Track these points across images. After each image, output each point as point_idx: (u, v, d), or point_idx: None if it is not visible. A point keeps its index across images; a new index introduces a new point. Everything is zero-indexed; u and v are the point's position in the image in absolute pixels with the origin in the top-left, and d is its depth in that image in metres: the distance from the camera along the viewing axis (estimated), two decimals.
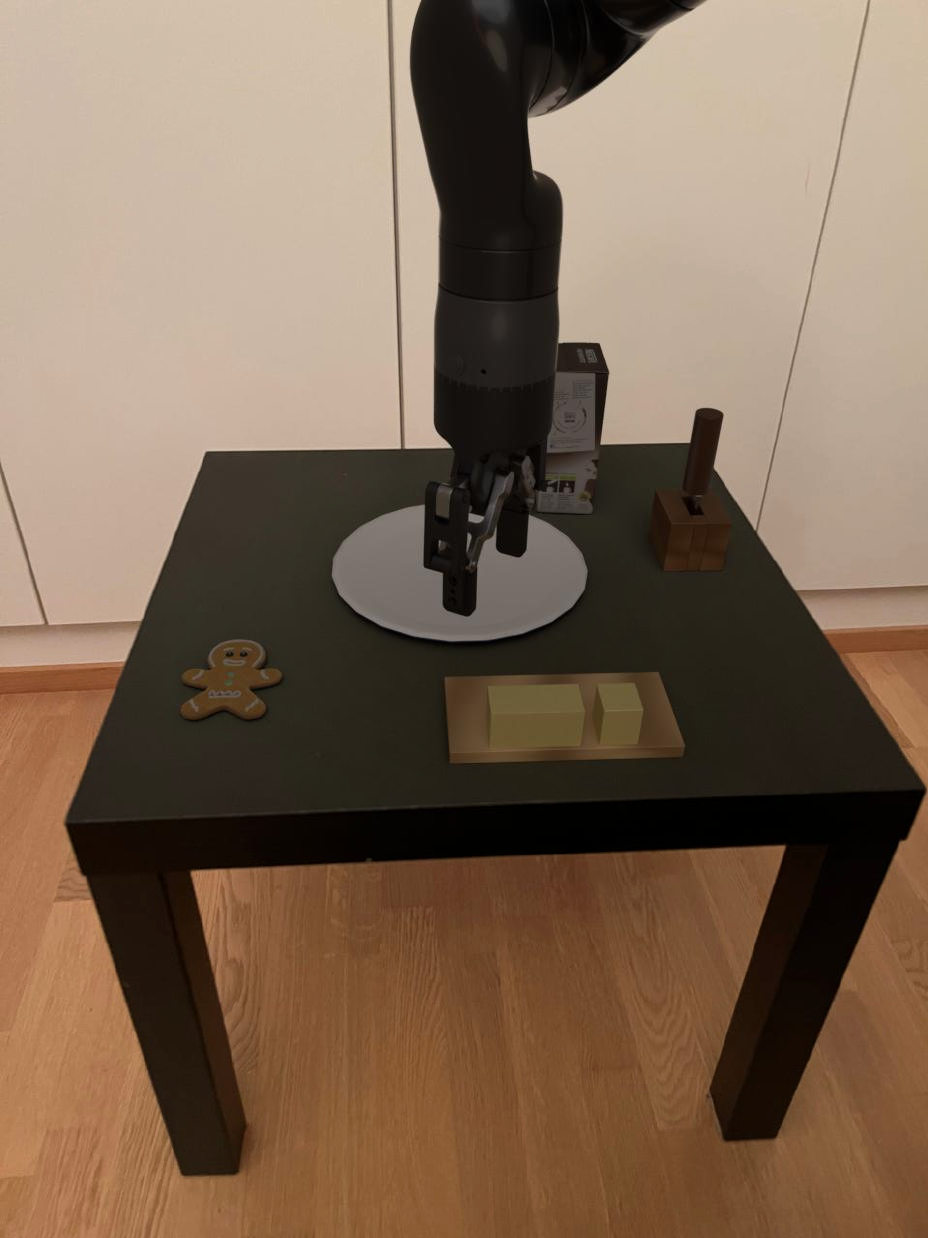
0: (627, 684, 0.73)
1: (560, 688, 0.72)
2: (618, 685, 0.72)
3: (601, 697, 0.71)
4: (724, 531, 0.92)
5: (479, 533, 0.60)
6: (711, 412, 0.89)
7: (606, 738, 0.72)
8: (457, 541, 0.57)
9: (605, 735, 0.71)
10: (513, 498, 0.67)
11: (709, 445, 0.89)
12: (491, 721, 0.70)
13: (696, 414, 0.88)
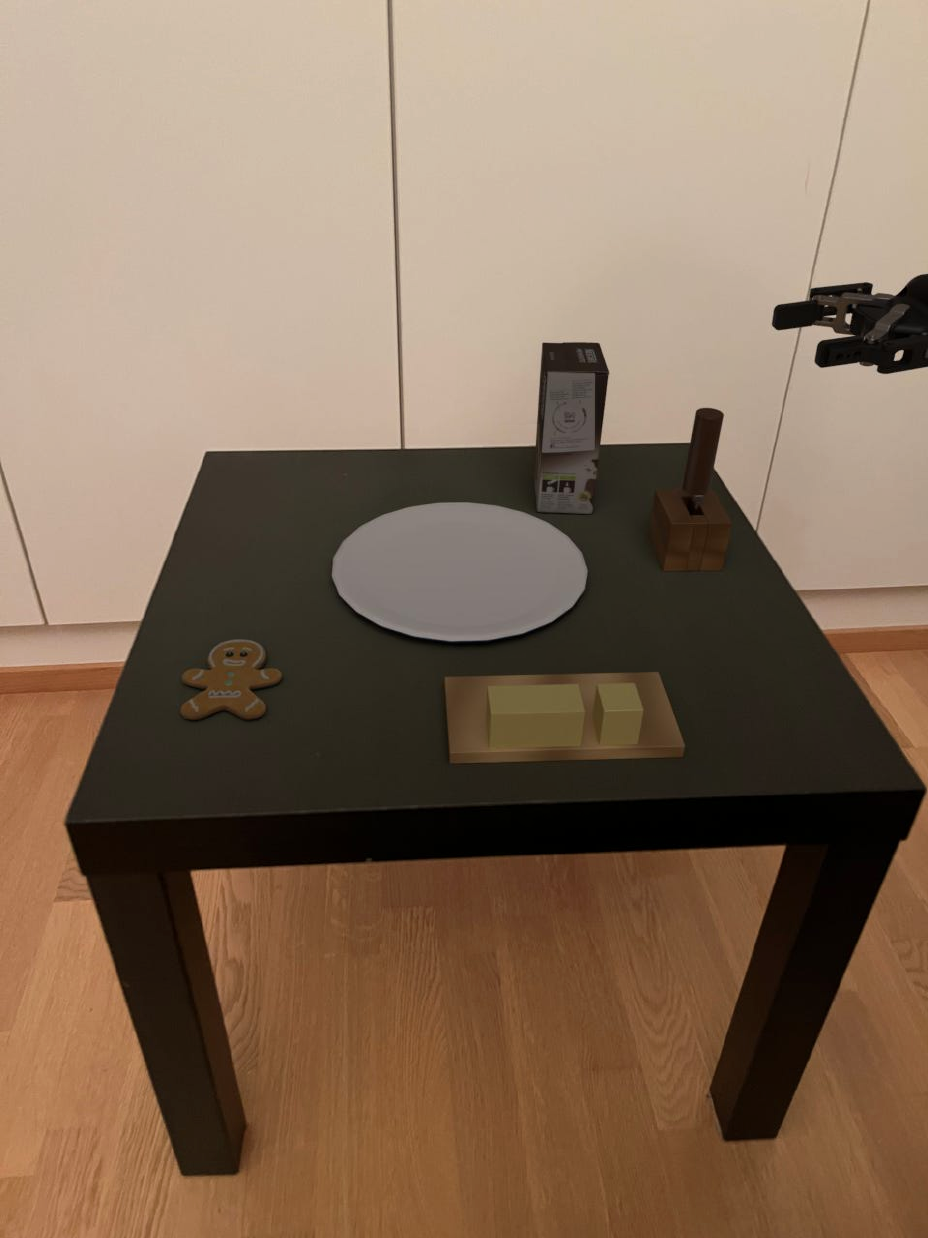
0: (627, 684, 0.73)
1: (560, 688, 0.72)
2: (618, 685, 0.72)
3: (601, 697, 0.71)
4: (724, 531, 0.92)
5: None
6: (711, 412, 0.89)
7: (606, 738, 0.72)
8: (836, 286, 0.89)
9: (605, 735, 0.71)
10: None
11: (709, 445, 0.89)
12: (491, 721, 0.70)
13: (696, 414, 0.88)
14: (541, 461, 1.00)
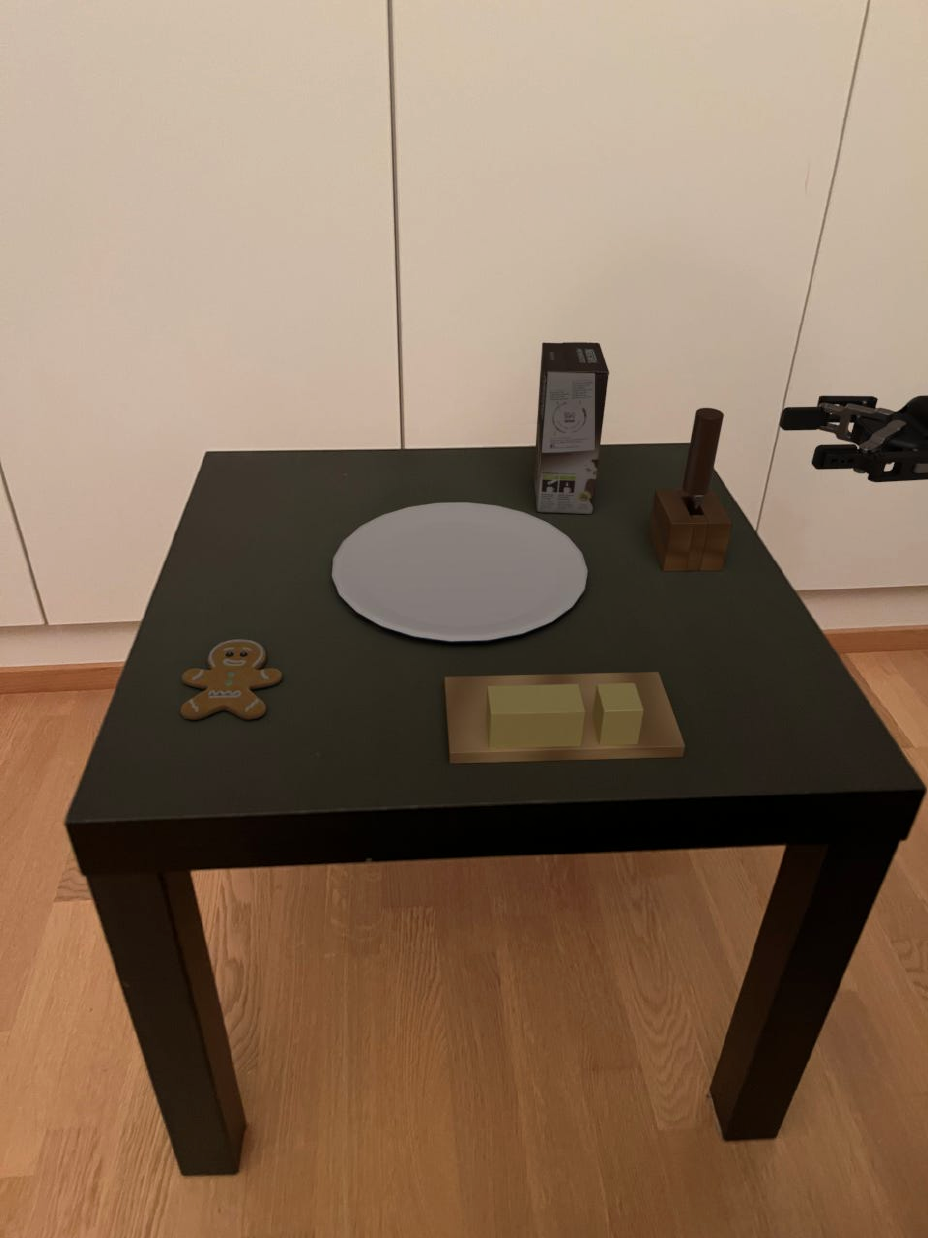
0: (627, 684, 0.73)
1: (560, 688, 0.72)
2: (618, 685, 0.72)
3: (601, 697, 0.71)
4: (724, 531, 0.92)
5: None
6: (711, 412, 0.89)
7: (606, 738, 0.72)
8: (843, 396, 0.96)
9: (605, 735, 0.71)
10: None
11: (709, 445, 0.89)
12: (491, 721, 0.70)
13: (696, 414, 0.88)
14: (541, 461, 1.00)
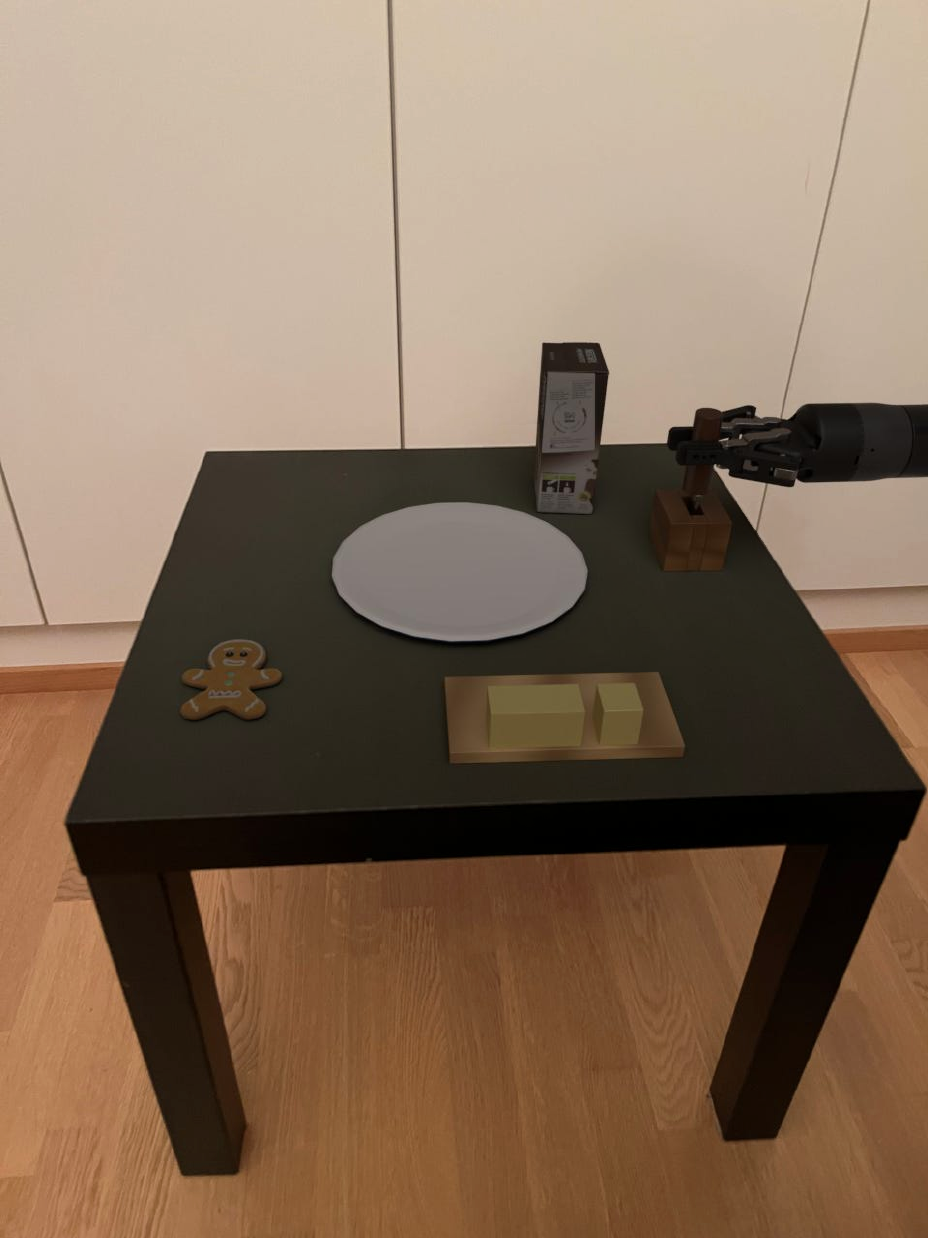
0: (627, 684, 0.73)
1: (560, 688, 0.72)
2: (618, 685, 0.72)
3: (601, 697, 0.71)
4: (724, 531, 0.92)
5: None
6: (711, 412, 0.89)
7: (606, 738, 0.72)
8: (726, 411, 0.94)
9: (605, 735, 0.71)
10: None
11: None
12: (491, 721, 0.70)
13: (696, 414, 0.88)
14: (541, 461, 1.00)
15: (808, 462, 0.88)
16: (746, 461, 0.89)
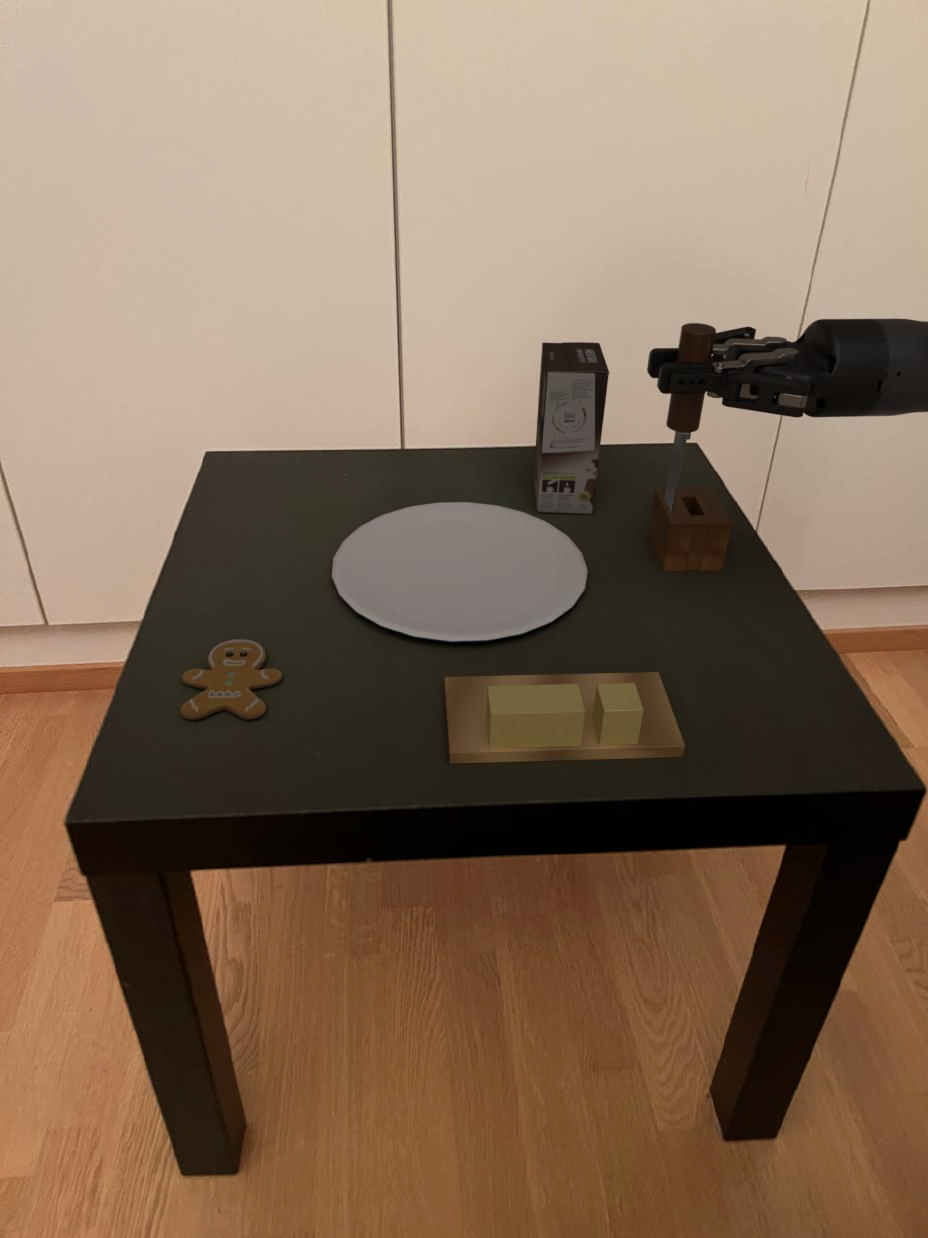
0: (627, 684, 0.73)
1: (560, 688, 0.72)
2: (618, 685, 0.72)
3: (601, 697, 0.71)
4: (724, 531, 0.92)
5: None
6: (701, 327, 0.72)
7: (606, 738, 0.72)
8: (720, 333, 0.78)
9: (605, 735, 0.71)
10: None
11: None
12: (491, 721, 0.70)
13: (682, 329, 0.72)
14: (541, 461, 1.00)
15: (819, 389, 0.72)
16: (744, 388, 0.73)
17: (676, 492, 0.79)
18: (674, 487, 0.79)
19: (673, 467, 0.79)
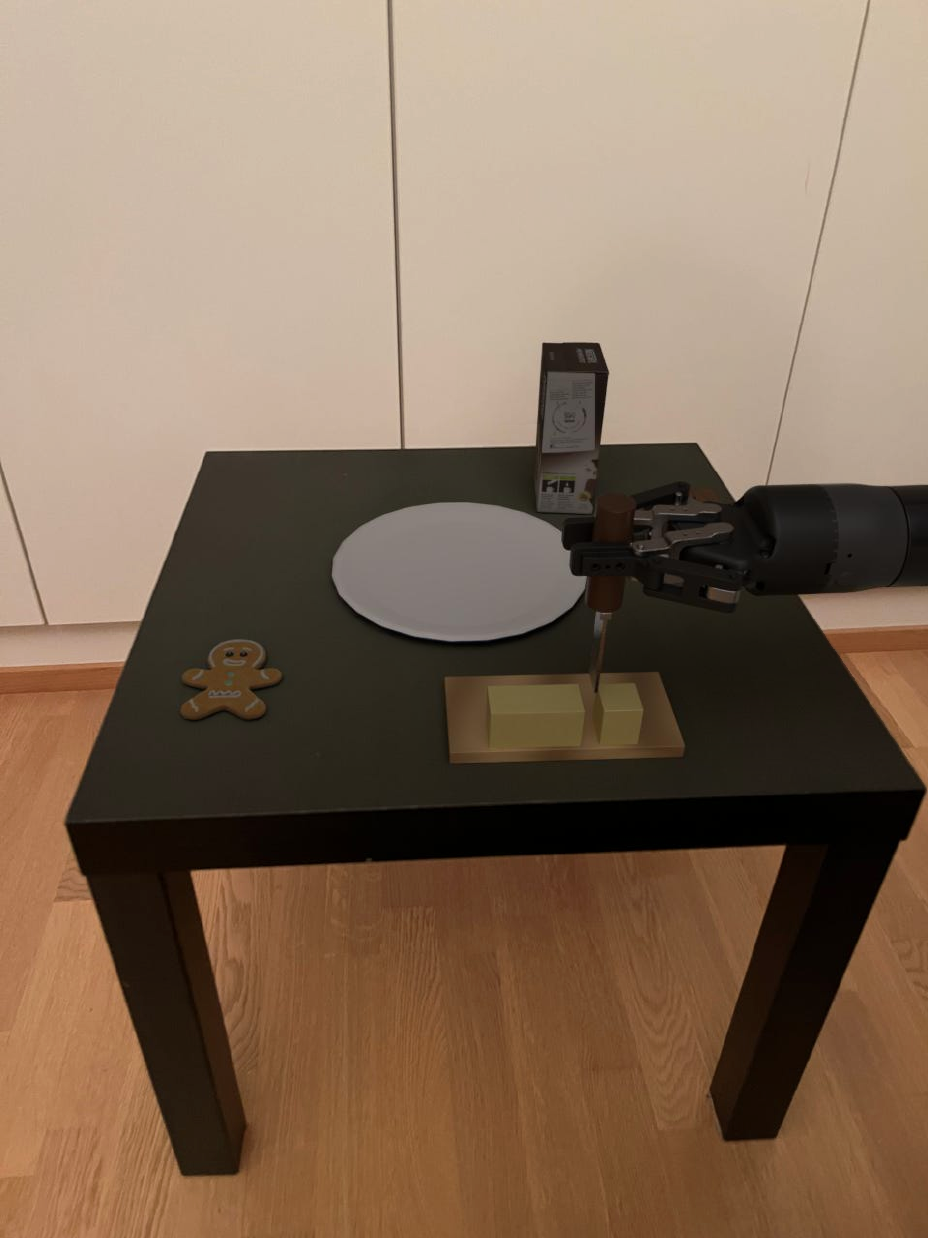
0: (627, 684, 0.73)
1: (560, 688, 0.72)
2: (618, 685, 0.72)
3: (601, 697, 0.71)
4: None
5: None
6: (619, 501, 0.62)
7: (606, 738, 0.72)
8: (648, 491, 0.68)
9: (605, 735, 0.71)
10: None
11: None
12: (491, 721, 0.70)
13: (597, 504, 0.62)
14: (541, 461, 1.00)
15: (757, 574, 0.61)
16: None
17: (599, 672, 0.69)
18: (596, 667, 0.69)
19: (595, 643, 0.69)
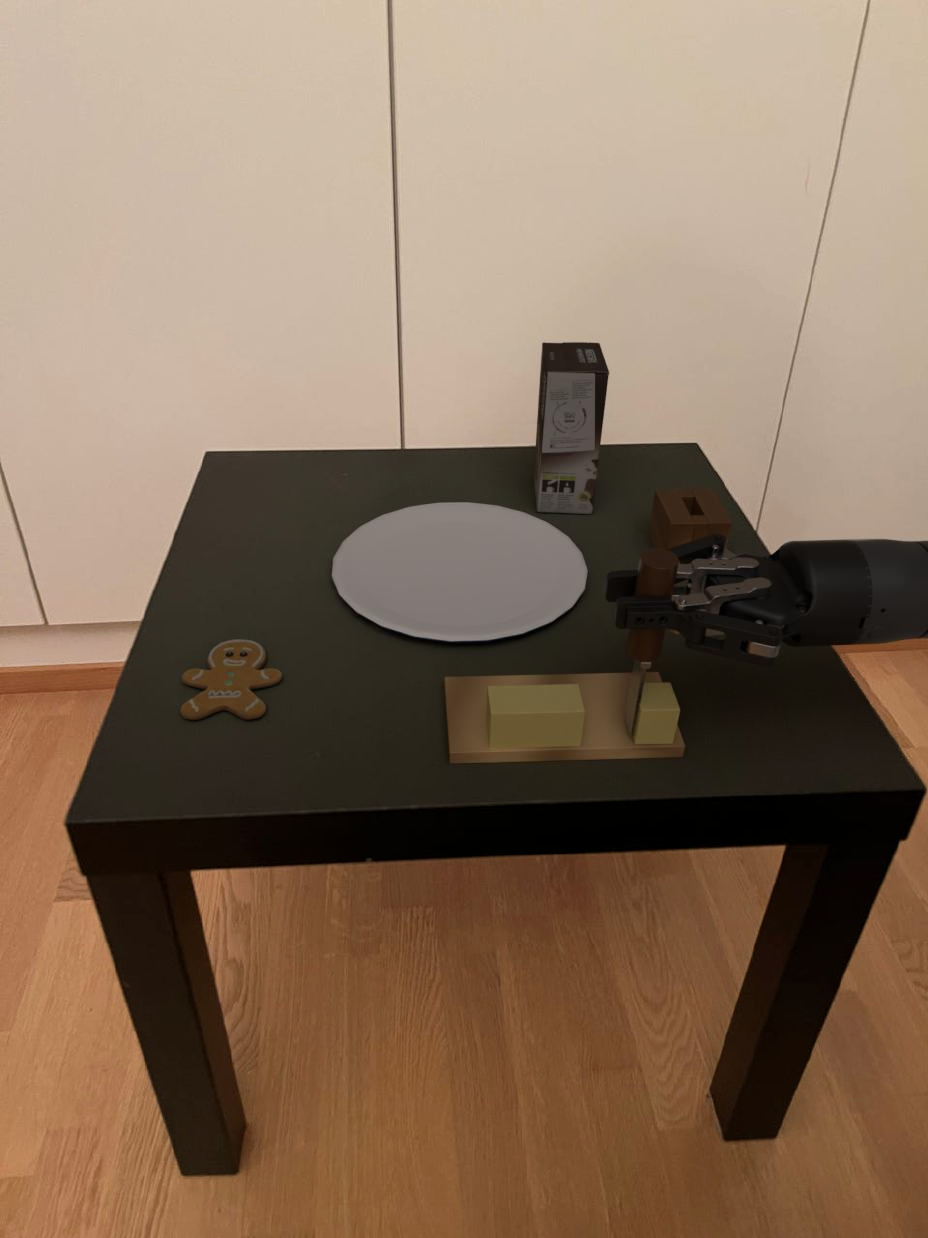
0: (663, 684, 0.73)
1: (560, 688, 0.72)
2: (654, 685, 0.72)
3: None
4: (724, 531, 0.92)
5: None
6: (662, 557, 0.64)
7: (642, 737, 0.72)
8: (686, 544, 0.70)
9: (640, 735, 0.72)
10: None
11: None
12: (491, 721, 0.70)
13: (641, 560, 0.64)
14: (541, 461, 1.00)
15: (795, 628, 0.64)
16: None
17: (636, 718, 0.71)
18: (633, 712, 0.71)
19: (633, 690, 0.71)
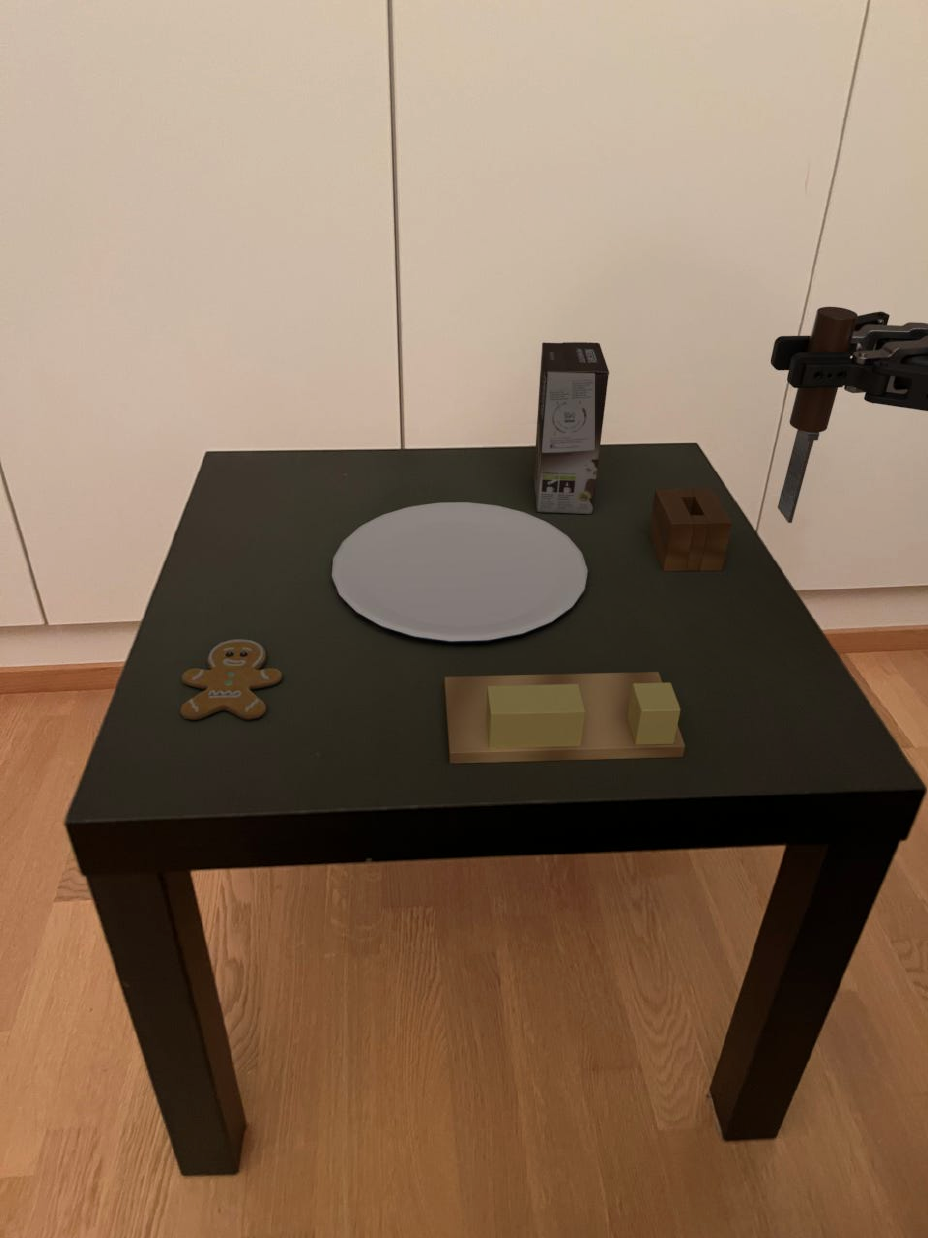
0: (663, 684, 0.73)
1: (560, 688, 0.72)
2: (654, 685, 0.73)
3: (638, 697, 0.71)
4: (724, 531, 0.92)
5: None
6: (839, 311, 0.63)
7: (642, 738, 0.72)
8: None
9: (641, 735, 0.72)
10: None
11: None
12: (491, 721, 0.70)
13: (819, 314, 0.63)
14: (541, 461, 1.00)
15: None
16: None
17: (796, 500, 0.69)
18: (794, 494, 0.69)
19: (793, 471, 0.70)
